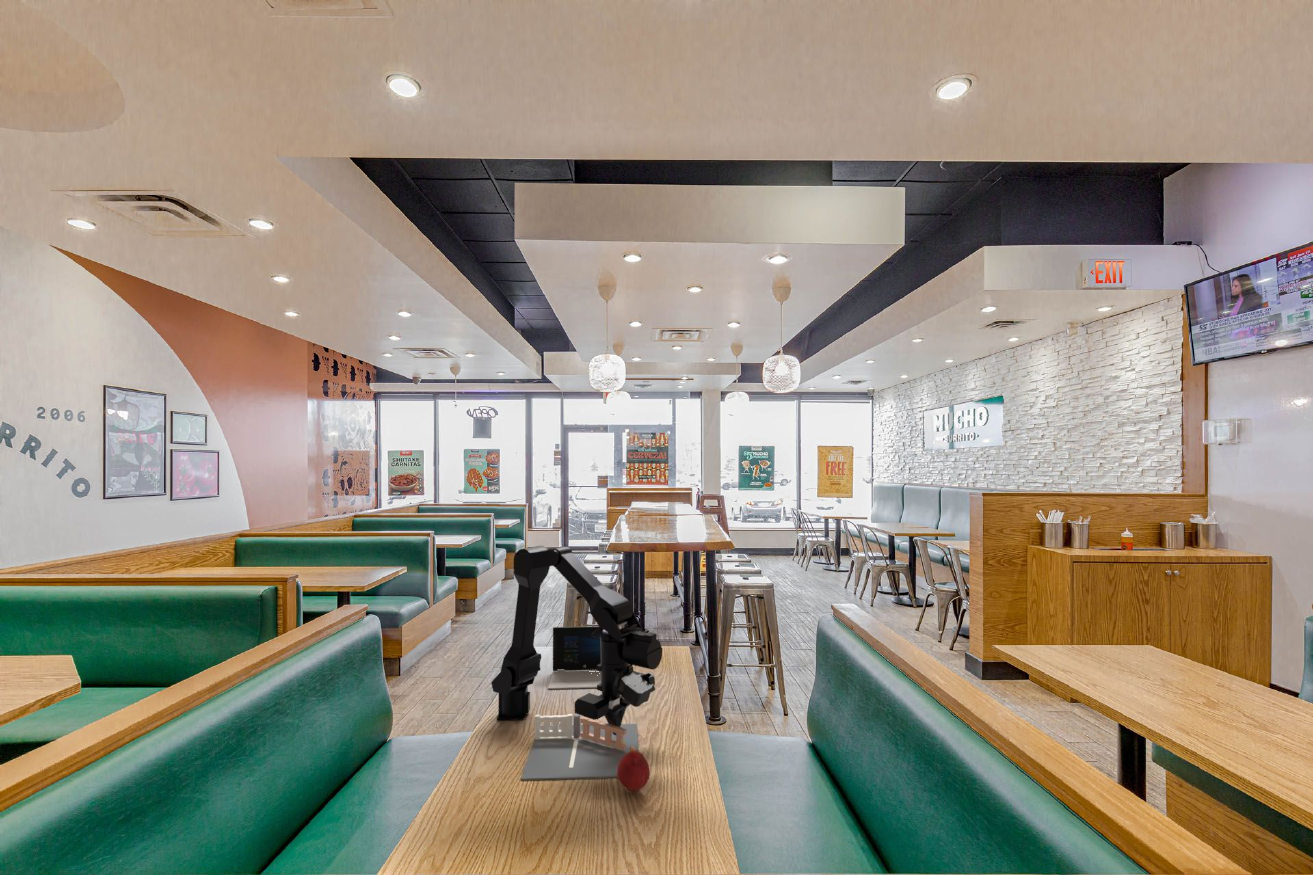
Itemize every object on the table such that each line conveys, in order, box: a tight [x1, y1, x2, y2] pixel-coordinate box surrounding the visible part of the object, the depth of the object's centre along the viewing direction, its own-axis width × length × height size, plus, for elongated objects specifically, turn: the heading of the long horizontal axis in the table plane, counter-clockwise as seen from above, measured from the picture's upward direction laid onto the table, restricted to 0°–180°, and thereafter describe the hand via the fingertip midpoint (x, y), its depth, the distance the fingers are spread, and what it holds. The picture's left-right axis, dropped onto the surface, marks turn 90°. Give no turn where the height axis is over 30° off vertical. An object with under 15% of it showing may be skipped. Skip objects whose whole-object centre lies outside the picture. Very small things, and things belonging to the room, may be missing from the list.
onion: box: [617, 746, 651, 794], centre depth 107 cm, size 6×6×8 cm
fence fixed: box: [534, 713, 573, 740], centre depth 127 cm, size 8×1×5 cm, turn 93°
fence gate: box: [572, 713, 626, 750], centre depth 124 cm, size 13×1×4 cm, turn 59°
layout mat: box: [520, 723, 639, 781], centre depth 122 cm, size 22×22×1 cm
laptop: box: [547, 625, 601, 690], centre depth 161 cm, size 18×12×13 cm
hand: (615, 734), depth 124 cm, fingers closed
